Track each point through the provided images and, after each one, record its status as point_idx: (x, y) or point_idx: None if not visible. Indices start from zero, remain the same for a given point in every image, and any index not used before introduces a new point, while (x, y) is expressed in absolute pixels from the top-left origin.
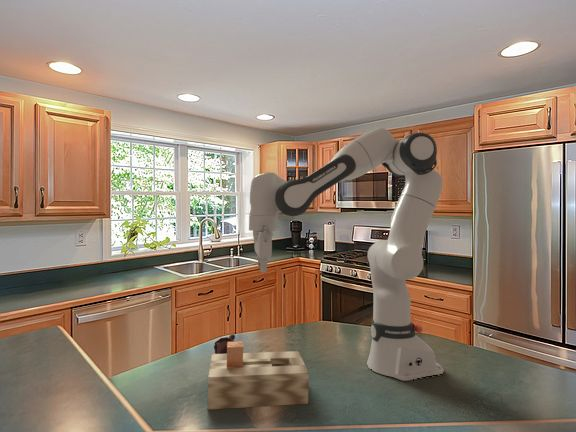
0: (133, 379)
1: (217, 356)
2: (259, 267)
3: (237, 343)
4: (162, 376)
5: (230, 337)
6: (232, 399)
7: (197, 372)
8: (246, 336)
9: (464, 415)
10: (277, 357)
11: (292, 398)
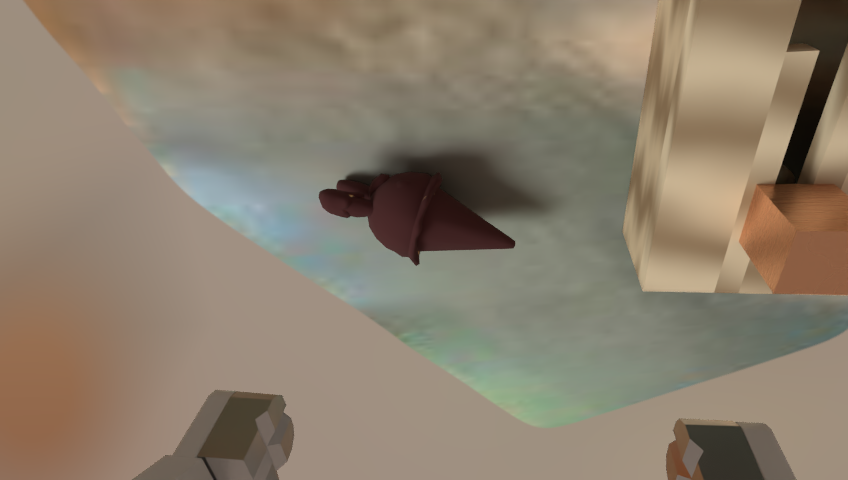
0: (559, 400)
1: (675, 273)
2: (292, 433)
3: (820, 254)
4: (553, 349)
5: (358, 213)
6: None
7: (540, 272)
8: (166, 115)
9: None
10: (788, 8)
11: None
